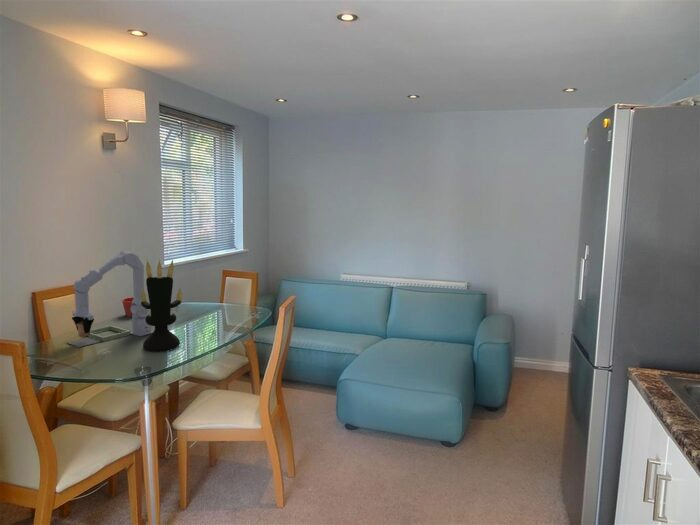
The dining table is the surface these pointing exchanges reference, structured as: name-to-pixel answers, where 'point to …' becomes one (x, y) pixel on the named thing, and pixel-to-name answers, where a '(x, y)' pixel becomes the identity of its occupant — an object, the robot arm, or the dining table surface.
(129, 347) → the dining table surface
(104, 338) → the pale green square frame
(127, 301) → the flower pot
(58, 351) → the dining table surface
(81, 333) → the seedling pot
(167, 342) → the candelabra
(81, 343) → the slate tile
